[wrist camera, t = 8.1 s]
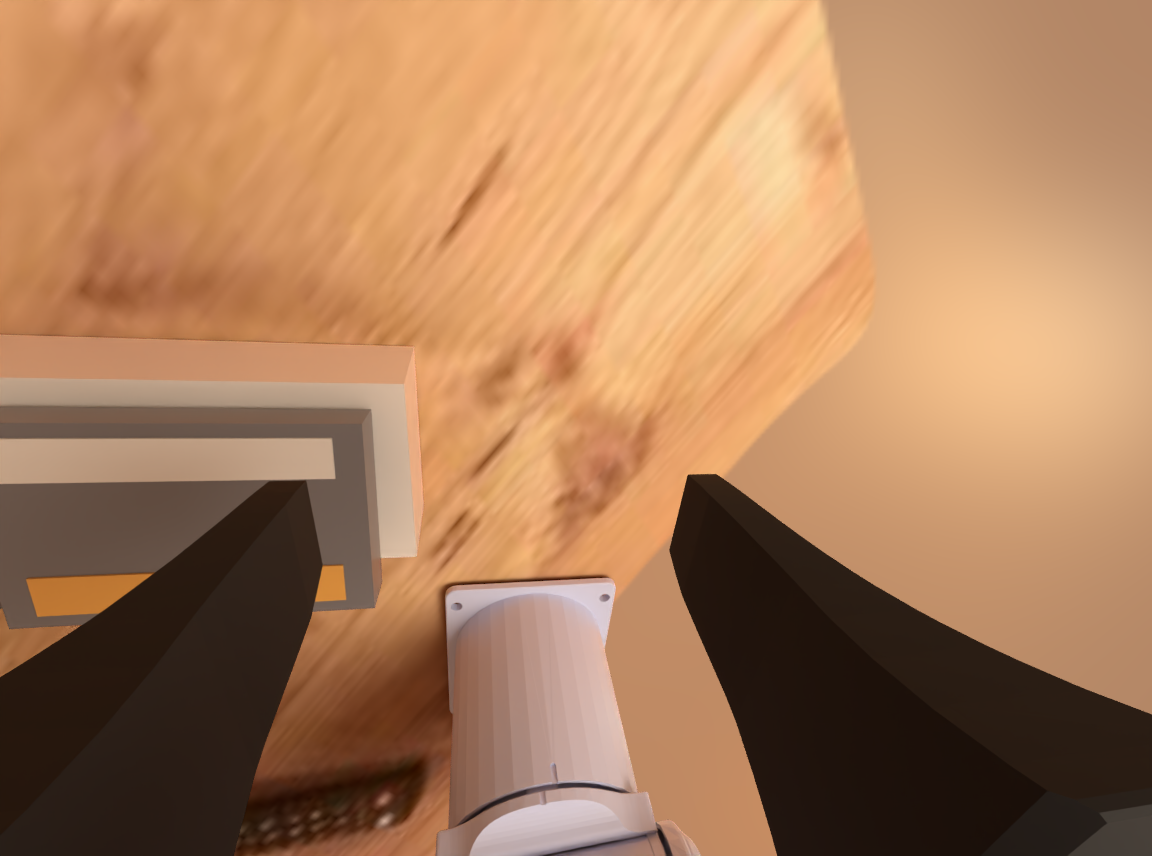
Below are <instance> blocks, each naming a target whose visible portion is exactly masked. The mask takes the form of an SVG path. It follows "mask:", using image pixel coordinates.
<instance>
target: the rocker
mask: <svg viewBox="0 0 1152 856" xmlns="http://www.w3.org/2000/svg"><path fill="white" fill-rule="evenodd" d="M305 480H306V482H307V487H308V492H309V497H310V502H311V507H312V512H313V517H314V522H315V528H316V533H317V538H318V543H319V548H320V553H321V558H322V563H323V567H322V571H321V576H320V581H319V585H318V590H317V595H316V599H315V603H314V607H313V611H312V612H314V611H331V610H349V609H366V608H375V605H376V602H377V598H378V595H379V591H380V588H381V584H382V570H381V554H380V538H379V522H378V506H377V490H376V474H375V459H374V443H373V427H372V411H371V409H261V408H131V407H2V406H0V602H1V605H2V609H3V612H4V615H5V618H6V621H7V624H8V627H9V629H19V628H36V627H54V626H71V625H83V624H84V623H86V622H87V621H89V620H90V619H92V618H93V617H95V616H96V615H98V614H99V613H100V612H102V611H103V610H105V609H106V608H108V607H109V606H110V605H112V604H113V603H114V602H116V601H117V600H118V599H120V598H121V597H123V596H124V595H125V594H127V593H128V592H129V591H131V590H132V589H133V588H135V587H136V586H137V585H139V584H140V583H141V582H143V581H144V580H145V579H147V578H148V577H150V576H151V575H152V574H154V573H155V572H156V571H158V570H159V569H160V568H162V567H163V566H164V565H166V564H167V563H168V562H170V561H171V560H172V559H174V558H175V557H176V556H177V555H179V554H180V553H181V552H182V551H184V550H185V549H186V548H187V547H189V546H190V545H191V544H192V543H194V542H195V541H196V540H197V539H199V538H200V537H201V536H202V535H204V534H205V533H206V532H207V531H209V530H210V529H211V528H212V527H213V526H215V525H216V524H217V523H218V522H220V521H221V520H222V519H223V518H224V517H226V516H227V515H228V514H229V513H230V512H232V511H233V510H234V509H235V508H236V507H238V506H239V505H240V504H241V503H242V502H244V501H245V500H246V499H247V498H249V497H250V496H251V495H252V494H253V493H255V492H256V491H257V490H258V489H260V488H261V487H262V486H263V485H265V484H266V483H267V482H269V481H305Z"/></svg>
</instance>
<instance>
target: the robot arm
mask: <svg viewBox="0 0 1152 856" xmlns="http://www.w3.org/2000/svg"><path fill="white" fill-rule="evenodd" d="M670 554H671V558H672V562H673V566H674V569H675V573H676V577H677V580H678V583H679V586H680V590H681V593H682V596H683V598H684V601H685V603H686V606H687V608H688V610H689V613H690V615H691V617H692V620H693V622H694V624H695V626H696V629H697V631H698V634H699V636H700V638H701V640H702V643H703V645H704V647H705V650H706V652H707V654H708V656H709V659H710V661H711V663H712V666H713V668H714V670H715V672H716V675H717V677H718V679H719V681H720V684H721V686H722V688H723V691H724V693H725V695H726V697H727V700H728V703H729V705H730V707H731V710H732V713H733V715H734V718H735V720H736V723H737V726H738V729H739V732H740V735H741V738H742V741H743V744H744V748H745V751H746V754H747V757H748V760H749V763H750V766H751V769H752V772H753V775H754V778H755V782H756V785H757V788H758V792H759V795H760V798H761V801H762V805H763V808H764V811H765V814H766V818H767V821H768V825H769V828H770V831H771V835H772V838H773V842H774V845H775V849H776V853H777V856H1152V715H1151V714H1149V713H1146V712H1144V711H1141V710H1139V709H1136V708H1133V707H1131V706H1128V705H1125V704H1123V703H1120V702H1118V701H1115V700H1112V699H1110V698H1107V697H1104V696H1102V695H1099V694H1097V693H1094V692H1091V691H1089V690H1086V689H1084V688H1081V687H1079V686H1076V685H1074V684H1071V683H1069V682H1067V681H1064V680H1062V679H1060V678H1058V677H1055V676H1053V675H1051V674H1048V673H1046V672H1044V671H1041V670H1039V669H1037V668H1035V667H1032V666H1030V665H1028V664H1025V663H1023V662H1021V661H1018V660H1016V659H1014V658H1012V657H1010V656H1008V655H1006V654H1003V653H1001V652H999V651H997V650H995V649H993V648H990V647H988V646H986V645H984V644H982V643H980V642H978V641H976V640H974V639H972V638H970V637H968V636H966V635H964V634H962V633H960V632H958V631H956V630H954V629H952V628H950V627H948V626H946V625H944V624H942V623H940V622H938V621H937V620H935V619H933V618H931V617H929V616H927V615H925V614H924V613H922V612H919V611H918V610H916V609H914V608H913V607H911V606H909V605H907V604H906V603H904V602H902V601H900V600H899V599H897V598H895V597H894V596H892V595H890V594H888V593H887V592H885V591H883V590H882V589H880V588H878V587H876V586H874V585H873V584H871V583H870V582H868V581H867V580H865V579H863V578H862V577H860V576H859V575H857V574H855V573H854V572H852V571H851V570H849V569H848V568H846V567H845V566H843V565H842V564H840V563H839V562H837V561H836V560H834V559H833V558H831V557H830V556H828V555H827V554H825V553H824V552H822V551H821V550H820V549H818V548H817V547H815V546H814V545H812V544H811V543H810V542H808V541H807V540H805V539H804V538H803V537H801V536H800V535H798V534H797V533H796V532H794V531H793V530H792V529H790V528H789V527H787V526H786V525H785V524H783V523H782V522H781V521H779V520H778V519H776V518H775V517H774V516H773V515H771V514H770V513H769V512H767V511H766V510H765V509H763V508H762V507H761V506H759V505H758V504H757V503H755V502H754V501H753V500H751V499H750V498H749V497H748V496H746V495H745V494H743V493H742V492H741V491H739V490H738V489H737V488H735V487H734V486H732V485H731V484H730V483H728V482H727V481H726V480H724V479H723V478H721V477H720V476H718V475H716V474H697V475H688V476H687V480H686V484H685V488H684V492H683V497H682V501H681V505H680V509H679V513H678V517H677V521H676V525H675V529H674V533H673V537H672V541H671V546H670ZM322 567H323V563H322V558H321V553H320V548H319V543H318V538H317V533H316V528H315V522H314V517H313V512H312V507H311V502H310V497H309V492H308V487H307V482H306V480H305V481H269V482H267V483H266V484H265V485H263V486H262V487H261V488H260V489H258V490H257V491H256V492H255V493H253V494H252V495H251V496H250V497H249V498H247V499H246V500H245V501H244V502H242V503H241V504H240V505H239V506H238V507H236V508H235V509H234V510H233V511H232V512H230V513H229V514H228V515H227V516H226V517H224V518H223V519H222V520H221V521H220V522H218V523H217V524H216V525H215V526H213V527H212V528H211V529H210V530H209V531H207V532H206V533H205V534H204V535H202V536H201V537H200V538H199V539H197V540H196V541H195V542H194V543H192V544H191V545H190V546H189V547H187V548H186V549H185V550H184V551H182V552H181V553H180V554H179V555H177V556H176V557H175V558H174V559H172V560H171V561H170V562H168V563H167V564H166V565H164V566H163V567H162V568H160V569H159V570H158V571H156V572H155V573H154V574H152V575H151V576H150V577H148V578H147V579H145V580H144V581H143V582H141V583H140V584H139V585H137V586H136V587H135V588H133V589H132V590H131V591H129V592H128V593H127V594H125V595H124V596H123V597H121V598H120V599H118V600H117V601H116V602H114V603H113V604H112V605H110V606H109V607H108V608H106V609H105V610H103V611H102V612H100V613H99V614H98V615H96V616H95V617H93V618H92V619H90V620H89V621H87V622H86V623H84V624H83V625H81V626H80V627H78V628H77V629H75V630H74V631H72V632H71V633H70V634H68V635H66V636H65V637H63V638H62V639H60V640H59V641H57V642H56V643H54V644H52V645H51V646H49V647H48V648H46V649H45V650H43V651H41V652H40V653H38V654H37V655H35V656H34V657H32V658H31V659H29V660H27V661H26V662H24V663H23V664H21V665H20V666H18V667H16V668H15V669H13V670H11V671H10V672H8V673H7V674H5V675H3V676H2V677H0V856H234V852H235V848H236V844H237V840H238V836H239V833H240V829H241V825H242V821H243V818H244V814H245V810H246V806H247V802H248V799H249V795H250V791H251V787H252V784H253V780H254V776H255V772H256V769H257V766H258V763H259V760H260V757H261V754H262V751H263V748H264V745H265V742H266V739H267V736H268V734H269V731H270V728H271V726H272V723H273V720H274V717H275V715H276V712H277V709H278V707H279V704H280V701H281V699H282V696H283V693H284V690H285V688H286V685H287V682H288V680H289V677H290V674H291V672H292V669H293V666H294V663H295V661H296V658H297V655H298V652H299V650H300V647H301V644H302V641H303V639H304V636H305V633H306V630H307V627H308V625H309V622H310V619H311V616H312V611H313V607H314V603H315V599H316V595H317V590H318V585H319V581H320V576H321V571H322ZM615 590H616V588H615V583H614V581H613V580H612V579H610V578H591V579H571V580H552V581H532V582H513V583H494V584H474V585H456V586H452V587H450V588H448V589H447V591H446V594H445V607H446V632H447V657H448V682H449V706H450V712H451V713H452V714H453V724H452V749H451V774H450V799H449V824H448V829H447V830H442V831H439V832H438V833H437V840H436V856H701V855H700V853H699V851H698V849H697V847H696V845H695V844H694V842H693V841H692V840H691V839H690V838H689V837H688V836H687V835H686V834H684V833H683V832H682V831H681V830H680V829H679V827H678V826H677V825H676V824H675V823H674V822H673V821H672V820H664V821H658V822H655V819H654V815H653V811H652V807H651V803H650V799H649V795H648V793H647V792H638V791H637V786H636V783H635V778H634V774H633V769H632V765H631V761H630V757H629V752H628V748H627V744H626V740H625V735H624V731H623V727H622V723H621V718H620V715H619V710H618V706H617V701H616V697H615V693H614V689H613V685H612V680H611V676H610V672H609V667H608V663H607V659H606V655H605V650H604V649H605V644H606V638H607V633H608V627H609V622H610V617H611V612H612V606H613V601H614V596H615ZM604 594H606V595H604ZM454 603H459V604H454Z"/></svg>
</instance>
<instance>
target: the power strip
mask: <svg viewBox="0 0 1152 856" xmlns="http://www.w3.org/2000/svg"><path fill="white" fill-rule="evenodd" d="M0 406H2V407H131V408H261V409H371V411H372V427H373V443H374V459H375V474H376V490H377V506H378V522H379V538H380V554H381V558H397V557H417V552H418V544H419V537H420V530H421V522H422V515H423V507H424V500H423V483H422V467H421V451H420V434H419V418H418V402H417V385H416V369H415V352H414V346H384V345H349V344H315V343H280V342H245V341H211V340H176V339H141V338H107V337H72V336H37V335H2V334H0Z"/></svg>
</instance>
